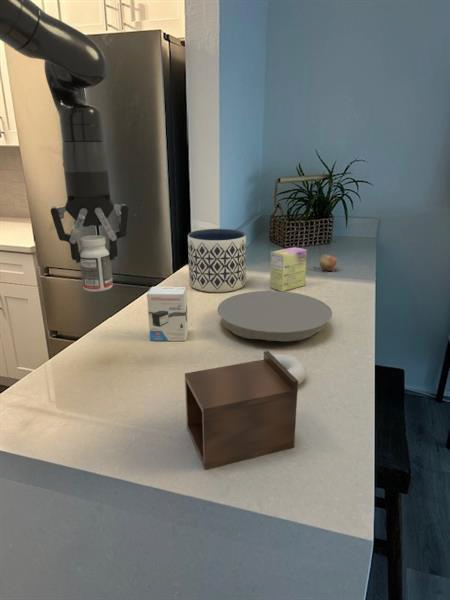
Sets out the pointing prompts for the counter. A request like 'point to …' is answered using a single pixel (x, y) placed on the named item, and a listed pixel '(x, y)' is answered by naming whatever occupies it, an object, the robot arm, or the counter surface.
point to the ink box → (167, 313)
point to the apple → (328, 262)
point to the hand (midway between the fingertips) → (95, 260)
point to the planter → (217, 259)
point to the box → (288, 268)
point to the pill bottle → (95, 264)
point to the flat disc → (274, 315)
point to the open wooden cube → (241, 410)
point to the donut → (292, 366)
